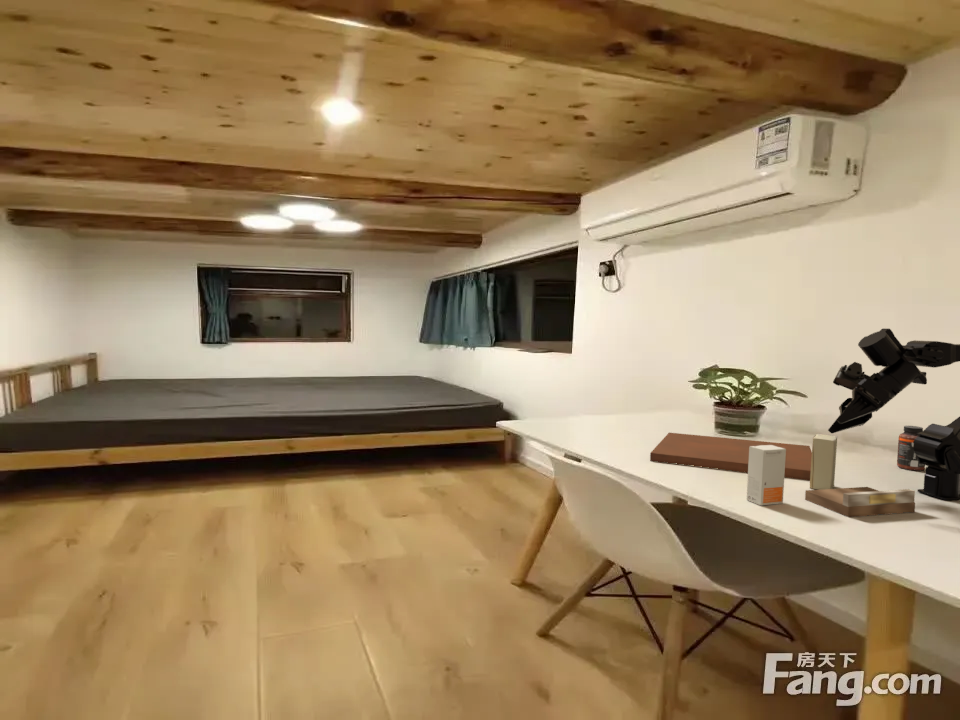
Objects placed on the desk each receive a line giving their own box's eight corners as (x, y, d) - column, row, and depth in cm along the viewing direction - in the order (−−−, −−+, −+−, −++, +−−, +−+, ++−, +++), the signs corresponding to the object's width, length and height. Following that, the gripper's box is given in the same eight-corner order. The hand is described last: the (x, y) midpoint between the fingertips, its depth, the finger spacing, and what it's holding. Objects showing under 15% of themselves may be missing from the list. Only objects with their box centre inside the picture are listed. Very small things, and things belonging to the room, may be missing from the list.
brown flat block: (866, 495, 122) (867, 476, 122) (915, 512, 111) (916, 491, 111) (805, 499, 119) (806, 479, 119) (848, 517, 108) (849, 495, 108)
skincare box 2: (813, 482, 132) (815, 433, 131) (835, 486, 129) (837, 435, 128) (809, 488, 127) (811, 437, 126) (831, 492, 124) (834, 440, 123)
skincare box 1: (761, 506, 114) (763, 450, 113) (745, 500, 118) (748, 445, 117) (784, 504, 116) (786, 448, 115) (768, 497, 120) (770, 444, 119)
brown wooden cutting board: (818, 484, 133) (809, 455, 162) (819, 471, 133) (809, 445, 162) (650, 463, 152) (668, 441, 181) (650, 452, 151) (668, 432, 180)
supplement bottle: (921, 472, 142) (924, 429, 141) (893, 467, 146) (896, 426, 146) (927, 468, 146) (930, 427, 145) (900, 464, 150) (902, 423, 149)
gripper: (847, 371, 133) (797, 412, 133) (868, 342, 117) (810, 388, 117) (889, 403, 127) (836, 446, 128) (917, 377, 111) (856, 426, 112)
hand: (834, 426), depth 121 cm, fingers open, 9 cm apart
